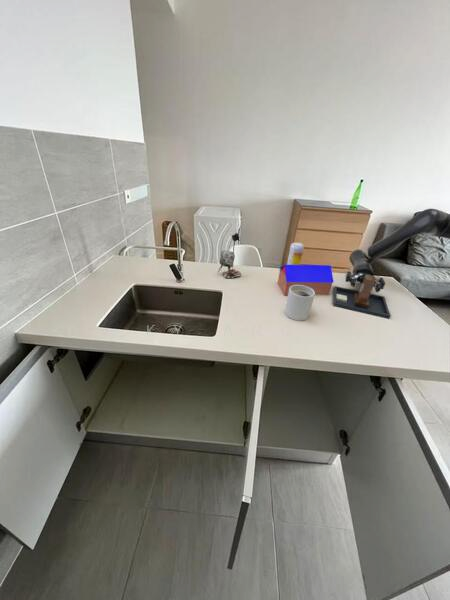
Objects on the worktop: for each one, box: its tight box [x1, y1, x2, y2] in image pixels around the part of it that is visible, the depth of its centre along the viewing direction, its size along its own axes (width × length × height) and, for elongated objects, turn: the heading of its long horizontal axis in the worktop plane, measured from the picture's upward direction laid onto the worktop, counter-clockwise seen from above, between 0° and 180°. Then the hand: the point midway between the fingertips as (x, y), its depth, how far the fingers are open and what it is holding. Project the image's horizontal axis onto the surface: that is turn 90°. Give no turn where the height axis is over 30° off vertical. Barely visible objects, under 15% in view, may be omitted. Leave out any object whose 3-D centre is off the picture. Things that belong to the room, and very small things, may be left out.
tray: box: [332, 286, 391, 320], centre depth 99 cm, size 20×16×2 cm
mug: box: [284, 285, 315, 321], centre depth 89 cm, size 11×10×10 cm
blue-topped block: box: [277, 264, 335, 297], centre depth 105 cm, size 12×20×12 cm, turn 94°
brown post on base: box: [353, 275, 376, 309], centre depth 96 cm, size 5×8×12 cm, turn 158°
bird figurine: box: [217, 232, 242, 279], centre depth 111 cm, size 8×11×20 cm
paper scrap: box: [336, 294, 347, 302], centre depth 101 cm, size 4×4×1 cm
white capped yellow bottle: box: [286, 242, 305, 265], centre depth 118 cm, size 6×6×15 cm
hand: (365, 287), depth 96 cm, fingers open, 8 cm apart
